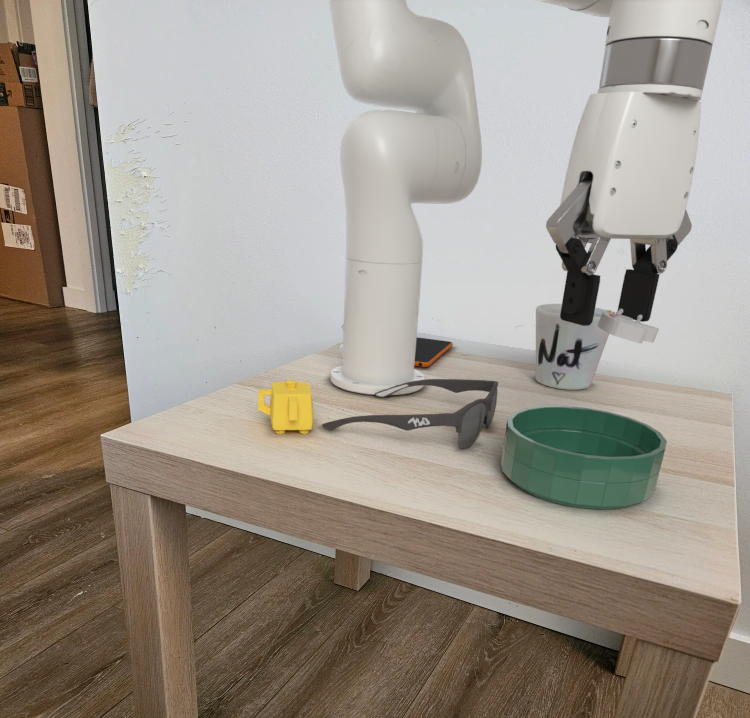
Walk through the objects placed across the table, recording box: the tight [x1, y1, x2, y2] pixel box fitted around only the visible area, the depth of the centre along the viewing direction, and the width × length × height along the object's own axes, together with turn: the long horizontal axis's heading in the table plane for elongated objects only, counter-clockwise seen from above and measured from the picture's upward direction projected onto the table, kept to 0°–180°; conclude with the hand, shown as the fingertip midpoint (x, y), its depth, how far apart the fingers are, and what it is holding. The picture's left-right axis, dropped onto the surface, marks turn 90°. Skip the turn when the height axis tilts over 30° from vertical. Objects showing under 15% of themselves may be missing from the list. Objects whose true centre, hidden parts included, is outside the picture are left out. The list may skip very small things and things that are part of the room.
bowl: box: [500, 405, 668, 510], centre depth 63 cm, size 14×14×5 cm
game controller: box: [516, 309, 660, 344], centre depth 56 cm, size 6×12×3 cm, turn 104°
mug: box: [535, 303, 610, 391], centre depth 95 cm, size 10×15×10 cm
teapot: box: [257, 379, 314, 435], centre depth 71 cm, size 8×6×5 cm
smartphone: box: [414, 336, 454, 368], centre depth 106 cm, size 8×17×1 cm, turn 161°
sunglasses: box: [321, 378, 499, 450], centre depth 75 cm, size 16×17×5 cm
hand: (605, 318), depth 58 cm, fingers closed on game controller, 6 cm apart
